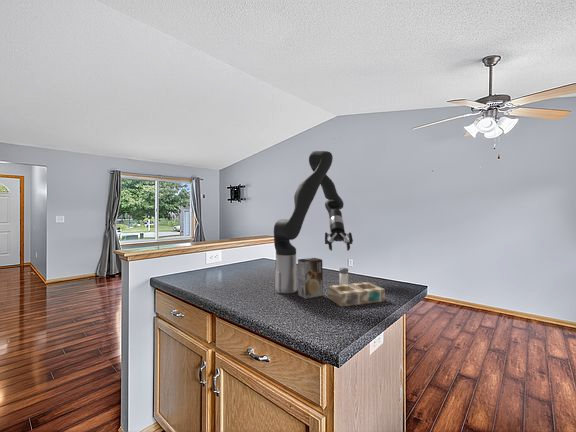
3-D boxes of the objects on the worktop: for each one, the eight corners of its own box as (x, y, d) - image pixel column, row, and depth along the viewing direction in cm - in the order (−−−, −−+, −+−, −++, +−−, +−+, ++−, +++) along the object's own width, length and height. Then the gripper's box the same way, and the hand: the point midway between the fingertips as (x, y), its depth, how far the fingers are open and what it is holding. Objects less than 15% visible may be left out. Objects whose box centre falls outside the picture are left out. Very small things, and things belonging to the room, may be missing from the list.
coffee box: (315, 292, 131) (315, 257, 131) (323, 295, 126) (323, 259, 125) (297, 295, 127) (297, 259, 127) (305, 299, 121) (305, 261, 121)
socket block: (341, 306, 112) (341, 294, 111) (327, 297, 123) (327, 285, 123) (385, 301, 118) (385, 289, 117) (368, 293, 129) (368, 282, 129)
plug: (342, 291, 132) (342, 269, 132) (338, 289, 136) (338, 268, 136) (349, 290, 133) (349, 269, 133) (345, 288, 137) (345, 267, 137)
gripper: (324, 221, 154) (326, 245, 143) (350, 221, 154) (354, 245, 143) (323, 230, 160) (325, 254, 149) (349, 230, 159) (353, 254, 148)
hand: (339, 249), depth 146 cm, fingers open, 8 cm apart
